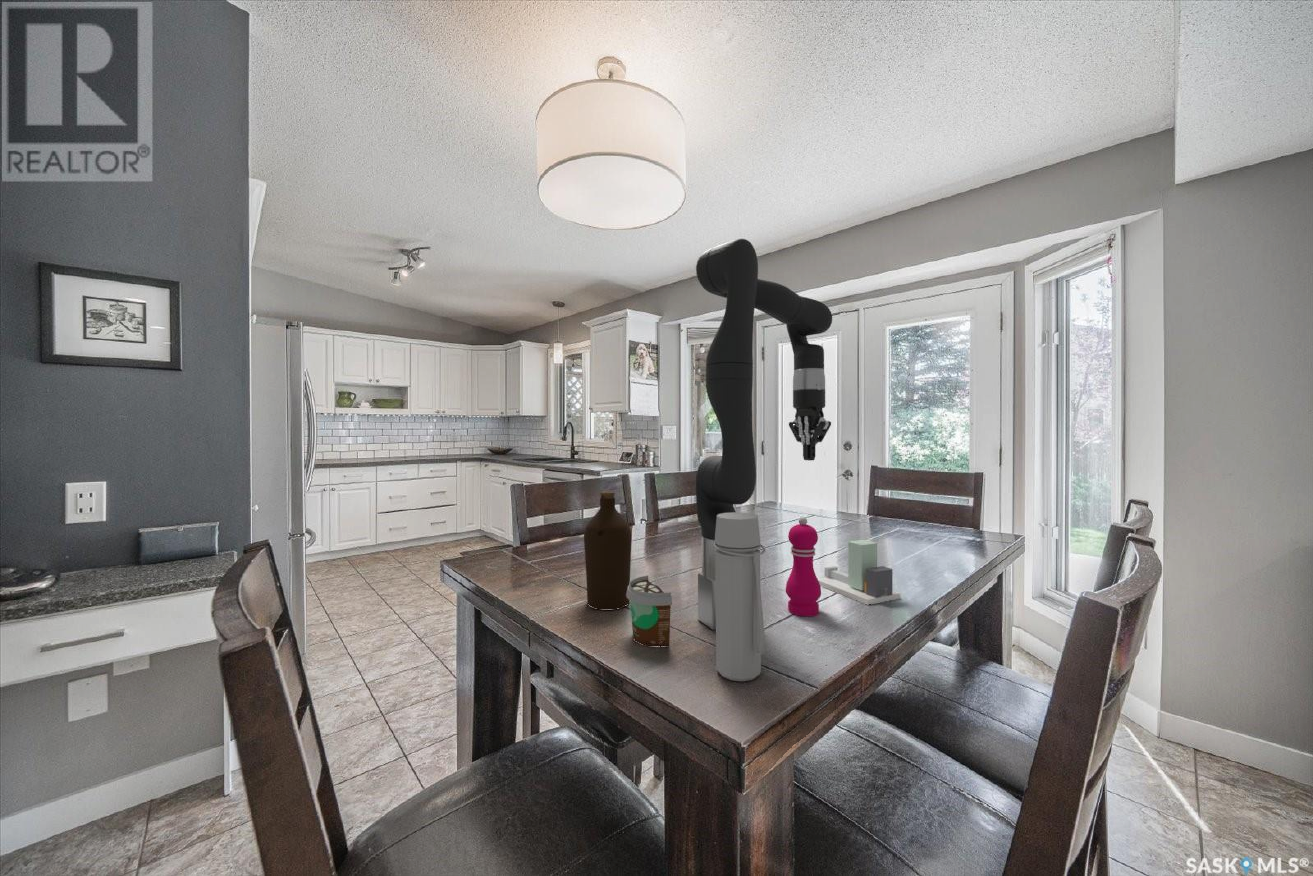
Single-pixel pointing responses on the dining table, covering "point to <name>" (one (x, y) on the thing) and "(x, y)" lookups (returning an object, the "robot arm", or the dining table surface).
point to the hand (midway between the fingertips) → (809, 460)
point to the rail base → (874, 586)
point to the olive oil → (607, 556)
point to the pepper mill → (803, 571)
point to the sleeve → (860, 561)
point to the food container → (649, 612)
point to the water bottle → (738, 596)
